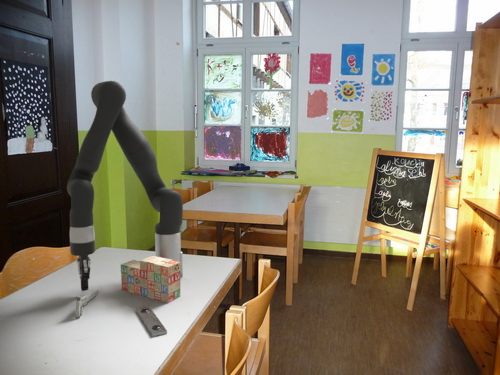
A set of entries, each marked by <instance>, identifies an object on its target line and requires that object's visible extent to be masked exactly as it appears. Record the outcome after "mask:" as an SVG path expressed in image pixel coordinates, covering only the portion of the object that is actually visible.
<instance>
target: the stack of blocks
mask: <svg viewBox="0 0 500 375" xmlns="http://www.w3.org/2000/svg"><path fill="white" fill-rule="evenodd" d="M120 274H121V275H120V278H121V290H123V291H127V292H129V293H131V294H136V295H139V296H143V297H145V298H146V297H147V298H150V299H152V300H153V299H154V300H156V301H160V302H163V303H166V304H169V303H172V302H173V301H175V300H177V299H178V298H180V297H181V277H180V262H178V261H173V260H171V259H167V258H161V257H156V255H150V256H148V257H145V258H143V259H140V260H136V259H131V260H129V261H126V262H124V263H121V264H120Z"/></svg>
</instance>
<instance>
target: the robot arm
mask: <svg viewBox="0 0 500 375" xmlns="http://www.w3.org/2000/svg"><path fill="white" fill-rule="evenodd" d="M90 94H91V95H90V98H91V101H92V103H93V105H94V106H95V108H96V112H95V115H94V118H93V121H92V123H91V125H90V128H88V131H87V133H86V134H85V135H84V136H85V137H84V138H83V141H82V143H81V147H80V148H79V151H78V155H77V158H76V162H75V166H74V168H73V169H72V172H71V174H70V176H69V178H68V181H67V184H66V185H67V186H66V190H67V194H68V195H69V196H70V202H71V203H70V205H71V208H70V210H69V246H70V248H69V249H70V254H71V255H72V256H75V257H77V258H76V263H77V264H76V265H77V272H78V275H79V280H80V288H81V289H80V290H81V292H84V291H85V292H86V291H89V287H90V286H89V280H90V276H91V258H90V255H92V254H94V253H95V252H96V237H95V236H96V235H95V232H96V231H95V227H94V212H93V211H94V210H93V209H94V204H95V203H94V202H95V189H94V186H93V183H92V181H93V178H94V176H95V174H96V173H97V172H98V170H99V168H100V165H101V163H102V160H103V155H104V152H105V149H106V145H107V143H108V140H109V138H110V134H111V132H112V133H113V136H114V137H115V140H116V142H117V143H118V145H119V146H120V149H121V150H122V152H123V155H124V156H125V157H126V160H127V161H128V163H129V166H131V168H132V170H133V172H134V173H135V175H136V177H137V178H138V179H139V181H140V183H141V184H142V186H143V188H144V190H145V192H146V195H147V198H148V200H149V202H150V205H151V206H152V208H153V209H154V210H155V211H156V212H158V213H159V220H158V222H157V223H156V224H155V225H154V226H155V227H154V240H155V248H154V249H155V253H154V254H155V256H156V257H161V258H167V259H171V260H173V261H178V262H180V278H181V277H183V275H184V273H183V271H184V270H183V269H184V268H183V267H184V266H183V264H184V263H183V262H184V261H183V251H182V250H181V227H182V224H183V217H184V215H183V214H184V212H183V211H184V210H183V209H184V201H183V198H182V195H181V194H180V192H178V191H176V190H173V189H169V188H168V187H167V185H166V184H165V182H164V181H163V179H162V177H161V175H160V173H159V170H158V169H159V168H158V163H157V161H158V160H157V158H156V154H155V152H154V149H153V148H152V146H151V144H150V142H149V140H148V138H146V136H145V135H144V133H143V132H142V131H141V130H140V128H139V127H137V126H136V124H135V123H134V122H133V121H132V120H131V118H130V117H129V115H128V114H127V112H126V109H125V107H124V104H125V102H126V100H127V94H126V90H125V88H124V86H123V85H122V84H120V83H119V82H118V81H115V80H107V81H101V82H98V83H96V84H95V85H94V86H92V89H91V93H90Z"/></svg>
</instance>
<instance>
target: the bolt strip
mask: <svg viewBox="0 0 500 375" xmlns="http://www.w3.org/2000/svg"><path fill="white" fill-rule="evenodd" d="M135 312H136V314H137V315H138V316H139V319H140V320H141V321H142V324H144V325H145V327H146V329H147V332H149V334H150V335H151V337H152V338H154V337H159V336H162V335H167V334H168V330H167V329H166V327H165V326H164V325H163V323H162V321H161V320H160V319H159V318H158V316H157V314H156V313H155V312H154V310H152V308H151V307H150V305H146V306H140V307H135Z"/></svg>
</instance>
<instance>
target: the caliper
mask: <svg viewBox="0 0 500 375" xmlns="http://www.w3.org/2000/svg"><path fill="white" fill-rule="evenodd" d="M100 292H101V291H100V289H94V290H93V291H91V292H90V293H88V294H87V295H83V296H81V295H78V296H76V301H75V318H76V319H78V318H81V316H83V310H84V307H85V306H87V303H88V302H89V301H90V300H92V299H93V298H94V297H96V296H97V295H99V293H100Z"/></svg>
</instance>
